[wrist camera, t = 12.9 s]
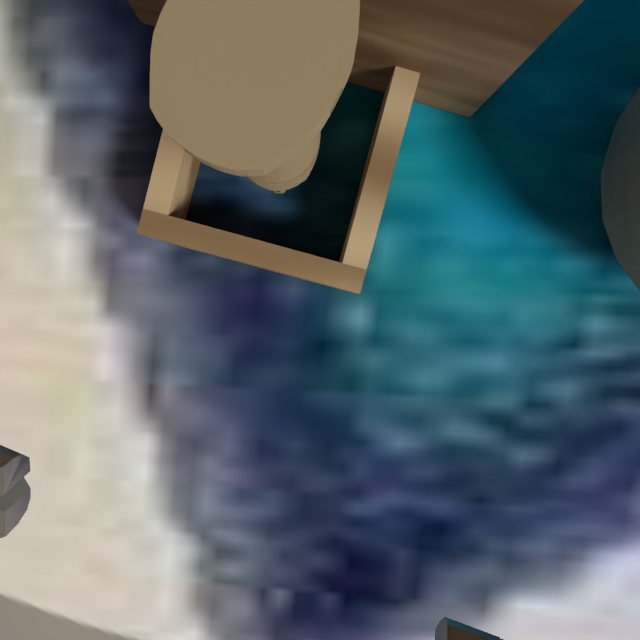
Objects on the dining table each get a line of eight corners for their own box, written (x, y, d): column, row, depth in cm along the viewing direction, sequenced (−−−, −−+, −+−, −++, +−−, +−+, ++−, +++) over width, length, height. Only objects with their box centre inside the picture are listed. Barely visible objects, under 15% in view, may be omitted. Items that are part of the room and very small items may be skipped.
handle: (212, 195, 29) (112, 110, 14) (268, 86, 28) (228, -124, 13) (292, 238, 29) (280, 202, 14) (349, 131, 29) (398, -25, 14)
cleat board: (415, 310, 29) (652, 358, 9) (91, 222, 29) (-403, 71, 9) (480, 80, 29) (881, -392, 9) (150, -16, 28) (-239, -779, 8)
